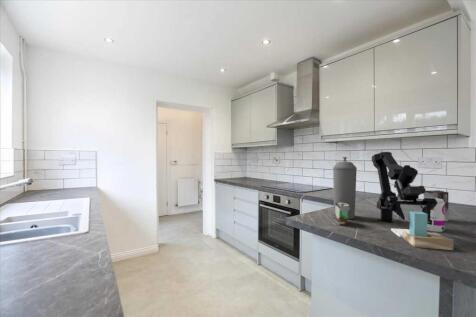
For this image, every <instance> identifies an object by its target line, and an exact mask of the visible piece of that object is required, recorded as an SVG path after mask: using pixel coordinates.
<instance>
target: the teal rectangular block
mask: <svg viewBox="0 0 476 317" xmlns="http://www.w3.org/2000/svg"><path fill="white" fill-rule="evenodd" d="M409 230H410V232H409V234H410V235H412V236H419V237H427V232H428V230H427V214H426V213H423V212H422V211H415V210H414V211H409Z"/></svg>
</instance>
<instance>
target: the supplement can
mask: <svg viewBox="0 0 476 317" xmlns="http://www.w3.org/2000/svg"><path fill="white" fill-rule="evenodd" d="M435 199H436V200H437V202H438V203H437V205H436V206H435V207H434V208H433V210H431V212H430V221H428V220H427V231H430V232H433V233H442V232H443V231H445V222H446V221H445V202H444V201H443V199H439V198H435Z"/></svg>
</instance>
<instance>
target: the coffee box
mask: <svg viewBox="0 0 476 317" xmlns="http://www.w3.org/2000/svg"><path fill="white" fill-rule="evenodd" d="M424 198H439V199H443V201H444V202H445V222H449V192H448V191H444V190H439V189H438V190H434V189H433V190H426V192H425V193H424V194H423V199H424Z"/></svg>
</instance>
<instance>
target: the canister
mask: <svg viewBox="0 0 476 317" xmlns="http://www.w3.org/2000/svg"><path fill="white" fill-rule="evenodd" d="M342 159H343V161H342V160H341V161H337V163H336V164H334V166H332V170H333V171H332V173H333V175H332V176H333V177H332V179H333V180H332V181H333V215H334V217H335V202H342V203H346V204H348V205H349V207H350V210H348V220H353V219H355V217H356V216H355V214H356V197H357V196H356V194H357V192H356V191H357V170H358V168H357V166H356V165H354V163H353V162H351V161H347V159H348V157H347V156H343V157H342Z"/></svg>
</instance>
